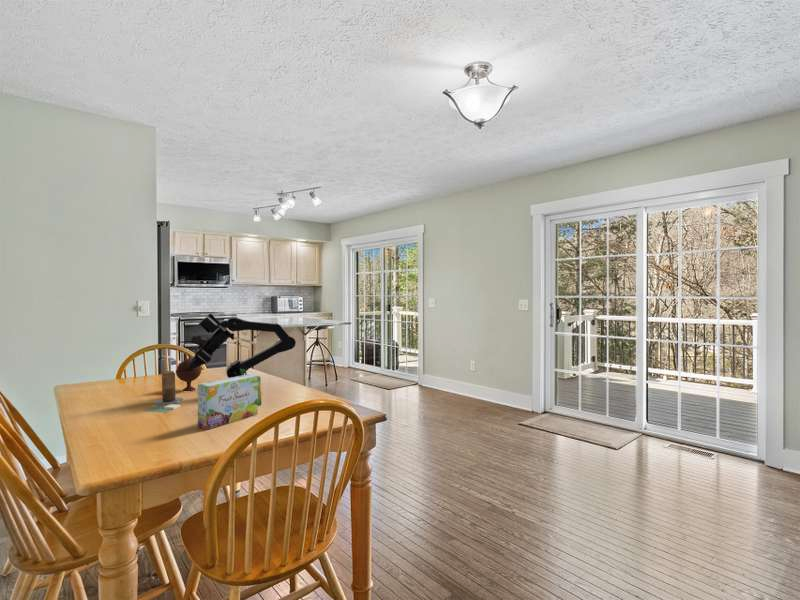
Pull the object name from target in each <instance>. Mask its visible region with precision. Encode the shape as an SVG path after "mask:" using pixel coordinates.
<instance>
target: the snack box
mask: <svg viewBox="0 0 800 600" xmlns="http://www.w3.org/2000/svg"><path fill="white" fill-rule="evenodd" d="M258 376H259V375H257V374H256V375H255V374H250V373H247V375H245V374H244V375H242V376H237V377H232V378H228V377H227V378H222V379H219V380H212V381H208V382H203V383H198V384H197V428H200V429H203V430H206V431H208V430H211V429H214V428H217V427H221V426H224V425H228V424H233V423H234V422H238V421H242V420H245V419H248V417H249V418H251V416H252V417H255V416H257V414H259V405H258ZM254 415H255V416H254Z"/></svg>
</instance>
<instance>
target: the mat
mask: <svg viewBox="0 0 800 600" xmlns="http://www.w3.org/2000/svg"><path fill="white" fill-rule="evenodd" d="M180 408H181V404H168V405H157V406H153V407H151V408H148V409H145V410H144V412H151V413H152V412H153V413H164V414H165V413H169V412H171V411H174V410H177V409H180Z"/></svg>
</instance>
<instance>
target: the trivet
mask: <svg viewBox="0 0 800 600" xmlns="http://www.w3.org/2000/svg"><path fill="white" fill-rule="evenodd" d="M175 398H176V400H175V401H172V402H162V398H160V399H157V400H154V401H153V404H154V405H157V406H159V405H160V406H167V405H170V404H174V405H176V404H179V403H181V402H183V401H184V400H185V399H184V398H183V397H180V396H179V397H176V396H175Z"/></svg>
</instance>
